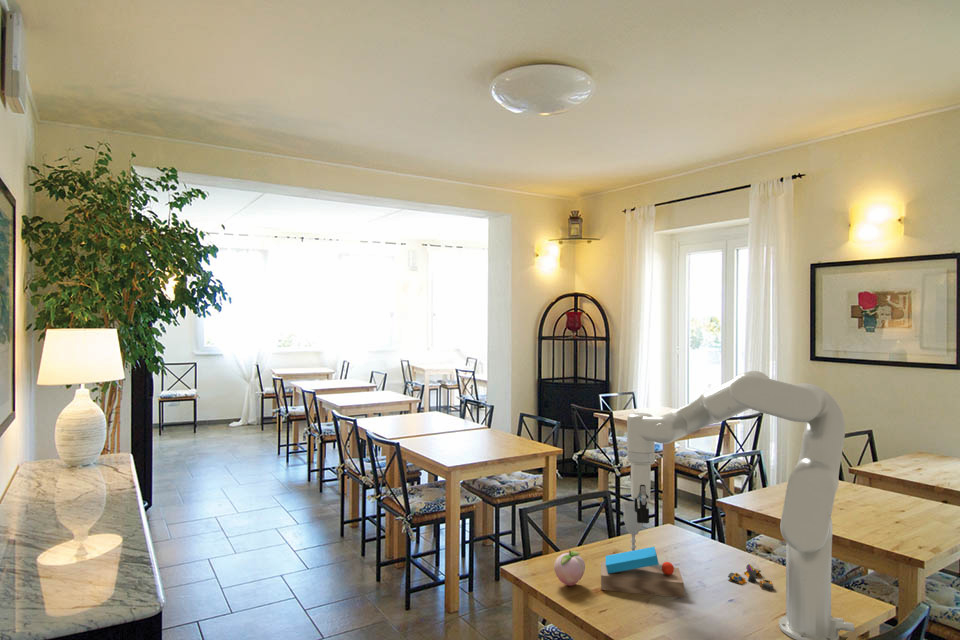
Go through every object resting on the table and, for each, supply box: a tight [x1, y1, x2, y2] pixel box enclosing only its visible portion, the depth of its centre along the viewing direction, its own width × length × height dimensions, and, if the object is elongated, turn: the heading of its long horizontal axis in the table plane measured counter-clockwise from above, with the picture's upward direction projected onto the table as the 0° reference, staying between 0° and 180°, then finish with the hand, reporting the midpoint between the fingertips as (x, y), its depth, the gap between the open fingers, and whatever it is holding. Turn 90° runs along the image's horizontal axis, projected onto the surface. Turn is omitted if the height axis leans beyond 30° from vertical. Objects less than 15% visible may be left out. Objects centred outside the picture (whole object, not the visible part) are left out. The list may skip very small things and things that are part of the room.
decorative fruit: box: [553, 550, 586, 587], centre depth 164 cm, size 9×8×10 cm
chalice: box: [621, 500, 644, 551], centre depth 180 cm, size 7×7×18 cm
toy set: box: [727, 563, 775, 591], centre depth 166 cm, size 12×11×5 cm
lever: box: [605, 546, 675, 575], centre depth 164 cm, size 7×7×18 cm
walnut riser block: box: [600, 560, 685, 598], centre depth 164 cm, size 22×10×4 cm, turn 78°
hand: (641, 517), depth 164 cm, fingers open, 9 cm apart
